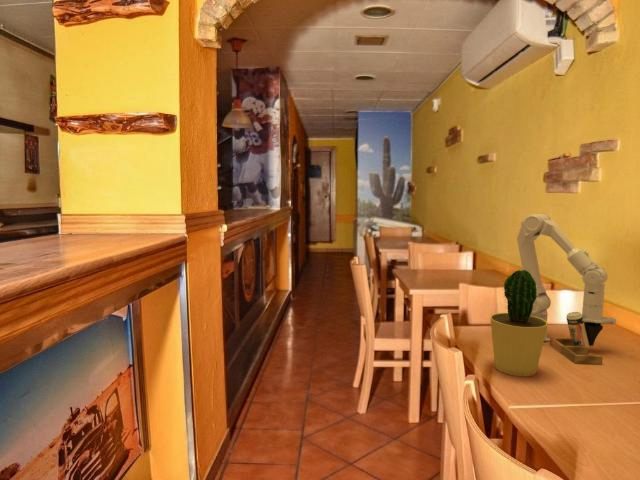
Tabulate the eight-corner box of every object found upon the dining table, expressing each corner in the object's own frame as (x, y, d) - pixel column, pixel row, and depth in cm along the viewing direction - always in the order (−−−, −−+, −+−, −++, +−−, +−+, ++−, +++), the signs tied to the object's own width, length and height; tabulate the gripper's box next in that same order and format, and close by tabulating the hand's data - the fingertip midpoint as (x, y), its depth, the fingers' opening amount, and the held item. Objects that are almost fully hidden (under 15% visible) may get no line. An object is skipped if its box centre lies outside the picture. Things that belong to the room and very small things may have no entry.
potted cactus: (523, 358, 145) (530, 263, 141) (556, 378, 130) (564, 272, 126) (477, 360, 142) (483, 263, 139) (505, 380, 127) (511, 272, 124)
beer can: (570, 349, 154) (562, 315, 153) (580, 344, 156) (572, 310, 155) (583, 352, 149) (574, 317, 148) (593, 347, 151) (585, 312, 150)
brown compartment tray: (575, 363, 141) (575, 355, 140) (549, 345, 158) (550, 337, 157) (602, 364, 140) (602, 356, 140) (573, 345, 157) (574, 338, 157)
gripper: (576, 306, 147) (573, 348, 149) (623, 308, 147) (619, 349, 148) (565, 301, 154) (562, 341, 156) (610, 302, 154) (606, 342, 155)
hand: (589, 344), depth 152 cm, fingers closed
